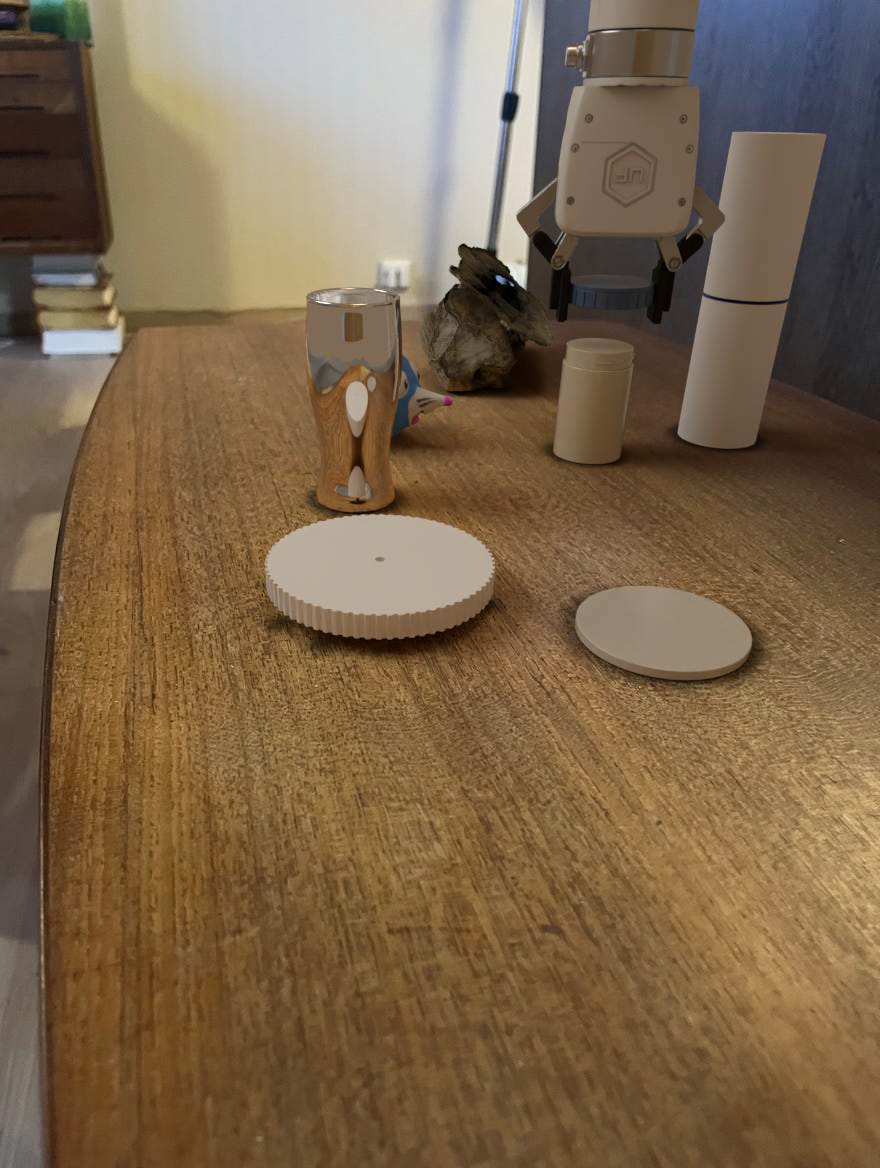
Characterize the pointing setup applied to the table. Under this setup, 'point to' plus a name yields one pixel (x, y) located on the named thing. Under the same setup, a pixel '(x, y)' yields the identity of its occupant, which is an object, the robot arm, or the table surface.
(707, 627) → the coaster
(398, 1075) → the table surface
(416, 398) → the blue toy animal
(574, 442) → the jar
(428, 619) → the plastic lid
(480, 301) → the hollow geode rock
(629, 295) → the lid
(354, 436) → the beer glass
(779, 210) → the cylindrical container
